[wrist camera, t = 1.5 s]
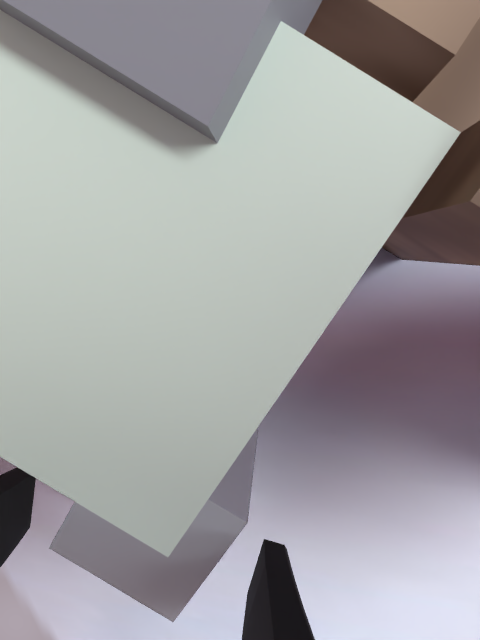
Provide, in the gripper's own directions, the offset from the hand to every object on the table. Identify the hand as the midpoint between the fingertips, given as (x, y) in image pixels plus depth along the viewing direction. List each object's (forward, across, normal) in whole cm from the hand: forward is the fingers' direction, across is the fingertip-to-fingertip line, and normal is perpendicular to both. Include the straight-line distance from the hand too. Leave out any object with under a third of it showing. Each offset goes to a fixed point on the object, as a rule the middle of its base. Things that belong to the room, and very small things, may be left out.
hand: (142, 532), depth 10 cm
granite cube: (+5, 0, 0) cm, 5 cm away
